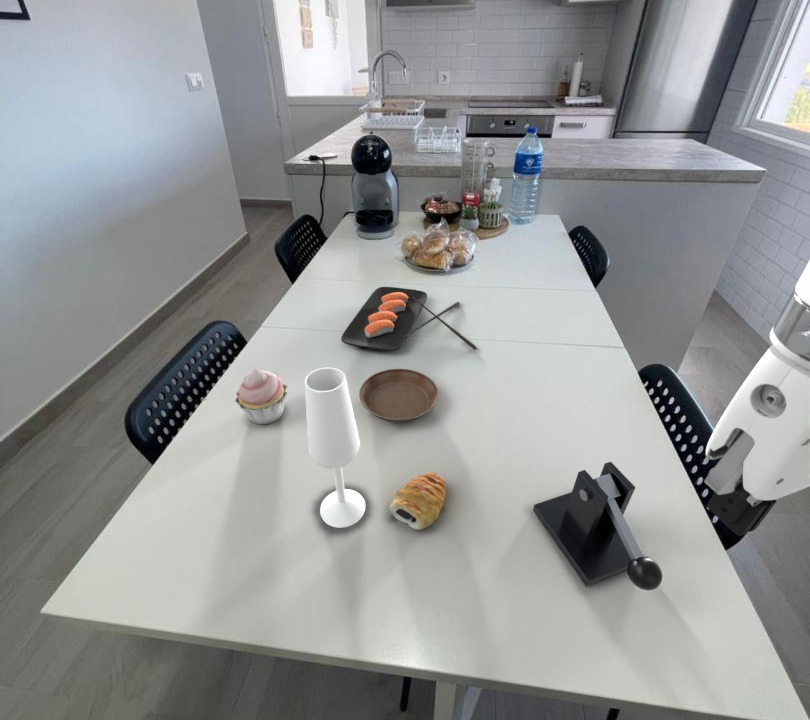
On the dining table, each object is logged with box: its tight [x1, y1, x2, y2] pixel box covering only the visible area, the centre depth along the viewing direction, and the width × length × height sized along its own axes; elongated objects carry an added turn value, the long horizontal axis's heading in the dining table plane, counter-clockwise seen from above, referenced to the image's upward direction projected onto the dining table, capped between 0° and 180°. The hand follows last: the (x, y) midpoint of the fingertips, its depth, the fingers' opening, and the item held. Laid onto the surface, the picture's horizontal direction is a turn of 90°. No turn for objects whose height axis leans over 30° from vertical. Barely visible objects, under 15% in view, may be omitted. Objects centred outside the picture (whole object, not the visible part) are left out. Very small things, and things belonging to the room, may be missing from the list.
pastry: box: [388, 472, 448, 531], centre depth 65 cm, size 9×7×4 cm
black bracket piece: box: [532, 461, 645, 587], centre depth 58 cm, size 12×9×12 cm
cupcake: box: [234, 368, 289, 425], centre depth 80 cm, size 9×9×10 cm
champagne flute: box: [304, 366, 367, 529], centre depth 59 cm, size 7×7×24 cm
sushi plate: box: [340, 286, 477, 352], centre depth 107 cm, size 29×30×4 cm
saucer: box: [358, 368, 439, 423], centre depth 84 cm, size 15×15×3 cm
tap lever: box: [593, 474, 663, 591], centre depth 54 cm, size 13×4×4 cm, turn 20°
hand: (729, 518), depth 38 cm, fingers closed
